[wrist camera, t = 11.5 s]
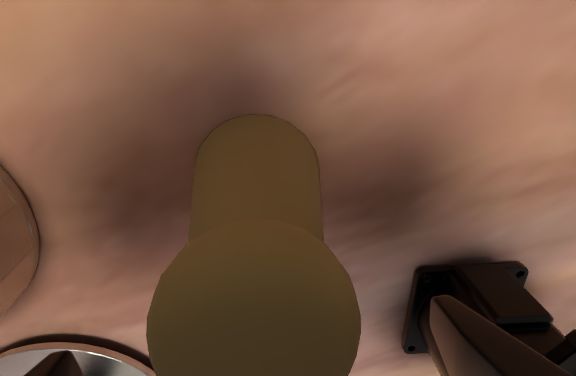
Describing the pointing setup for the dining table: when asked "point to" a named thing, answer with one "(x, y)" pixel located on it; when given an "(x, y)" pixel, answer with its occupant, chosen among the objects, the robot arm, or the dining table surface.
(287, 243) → the cork
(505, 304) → the robot arm
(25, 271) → the pot
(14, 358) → the lid
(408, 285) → the dining table surface
